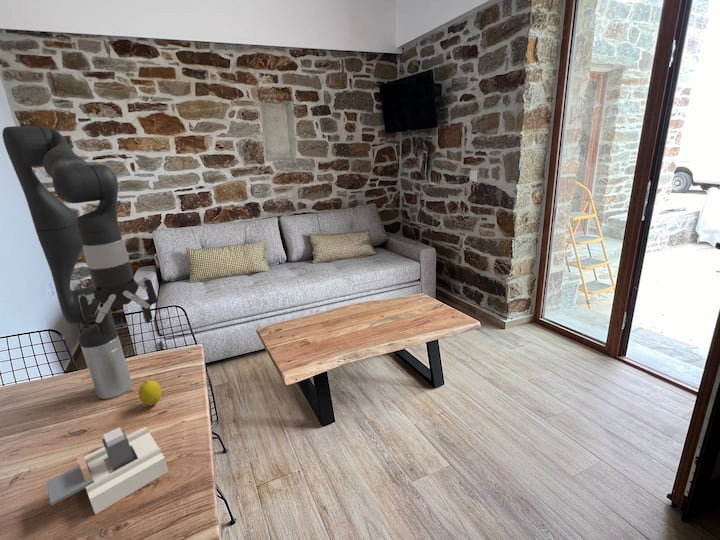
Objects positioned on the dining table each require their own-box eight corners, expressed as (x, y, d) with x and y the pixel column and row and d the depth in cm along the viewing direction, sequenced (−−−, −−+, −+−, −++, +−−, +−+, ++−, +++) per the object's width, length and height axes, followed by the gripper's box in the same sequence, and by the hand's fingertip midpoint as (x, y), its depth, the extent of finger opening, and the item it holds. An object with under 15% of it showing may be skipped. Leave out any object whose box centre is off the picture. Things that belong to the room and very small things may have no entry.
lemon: (155, 412, 103) (148, 387, 100) (138, 410, 104) (130, 386, 101) (168, 399, 108) (162, 375, 105) (152, 397, 109) (145, 374, 106)
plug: (112, 471, 84) (100, 435, 80) (132, 460, 86) (121, 425, 83) (117, 481, 81) (104, 444, 78) (137, 470, 83) (126, 434, 80)
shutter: (47, 484, 77) (41, 470, 75) (87, 463, 81) (82, 450, 80) (51, 505, 72) (45, 491, 71) (94, 482, 76) (89, 469, 75)
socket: (82, 473, 84) (75, 456, 82) (149, 439, 93) (144, 423, 91) (95, 514, 74) (88, 495, 73) (168, 471, 83) (163, 454, 82)
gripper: (140, 250, 87) (155, 313, 92) (65, 266, 78) (87, 334, 83) (149, 257, 82) (165, 323, 87) (70, 274, 73) (93, 346, 78)
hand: (127, 328), depth 85 cm, fingers open, 8 cm apart
